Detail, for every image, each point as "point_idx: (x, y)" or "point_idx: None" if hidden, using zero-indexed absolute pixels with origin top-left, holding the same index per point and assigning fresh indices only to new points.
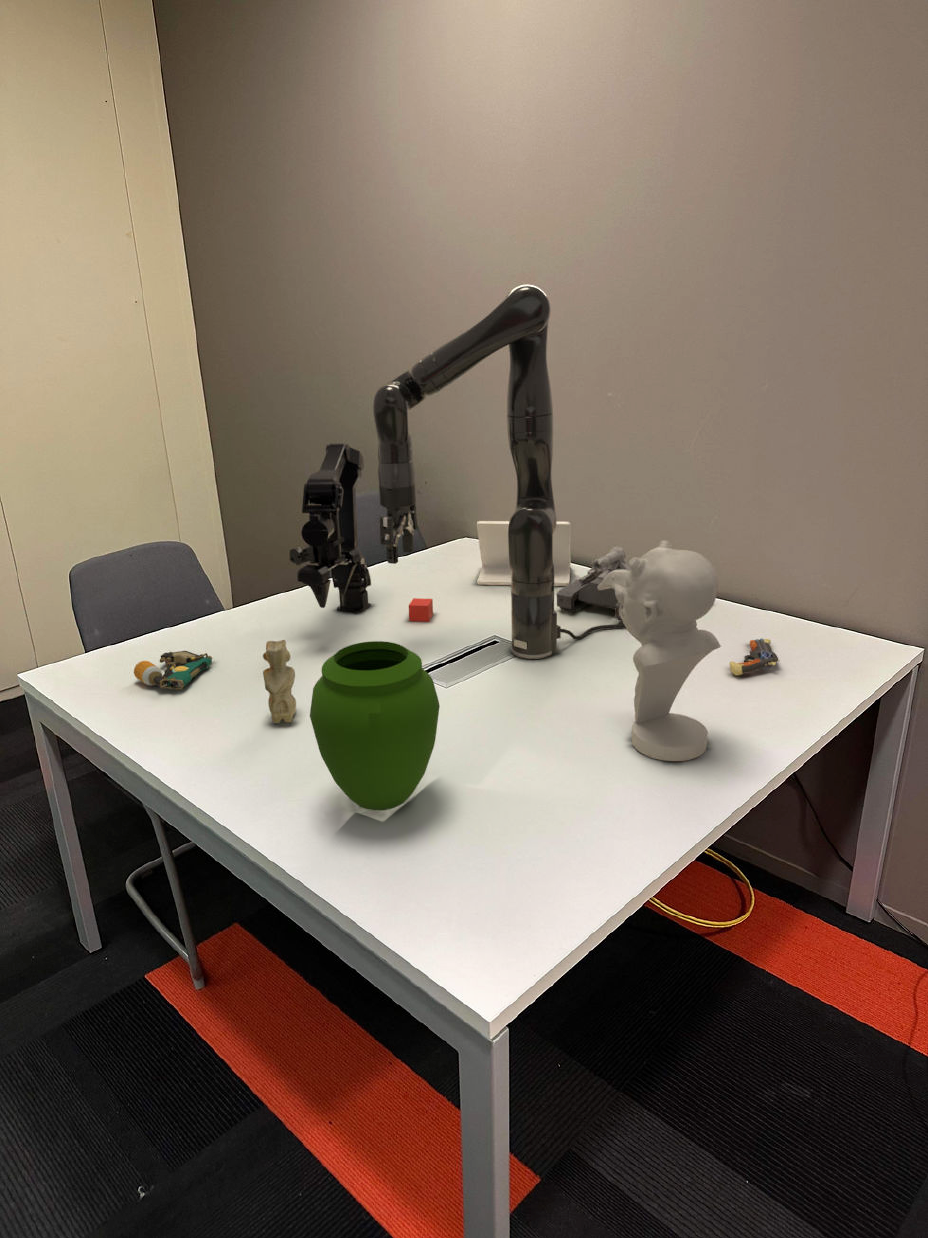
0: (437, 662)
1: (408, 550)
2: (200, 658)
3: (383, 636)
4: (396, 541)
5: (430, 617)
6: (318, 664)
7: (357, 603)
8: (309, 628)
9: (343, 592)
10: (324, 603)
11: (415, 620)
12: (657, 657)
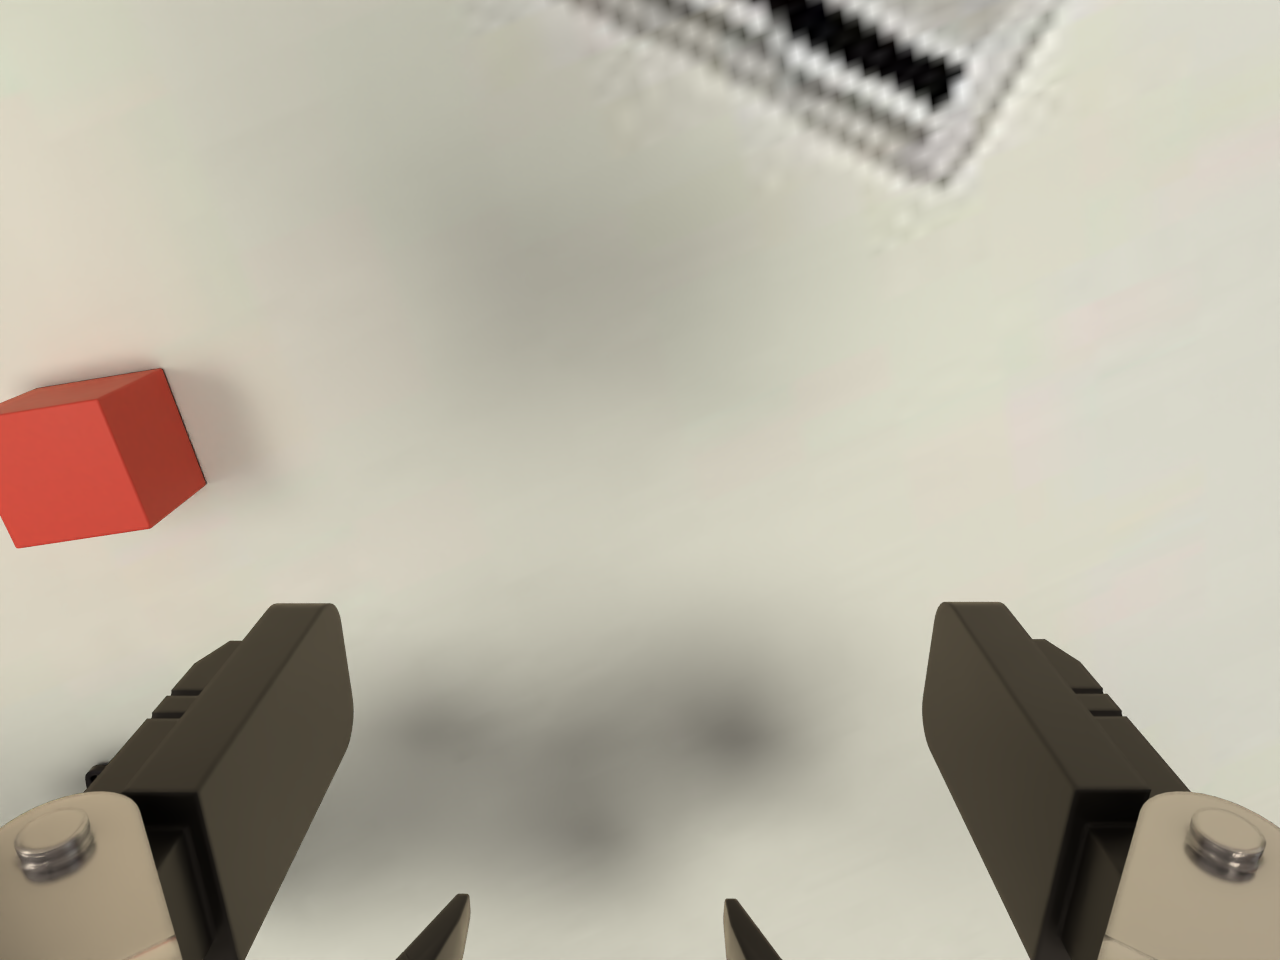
0: (765, 57)
1: (334, 665)
2: None
3: (477, 532)
4: (1224, 883)
5: (107, 378)
6: (910, 676)
7: None
8: (502, 886)
9: (465, 907)
10: (751, 919)
11: (190, 451)
12: None
